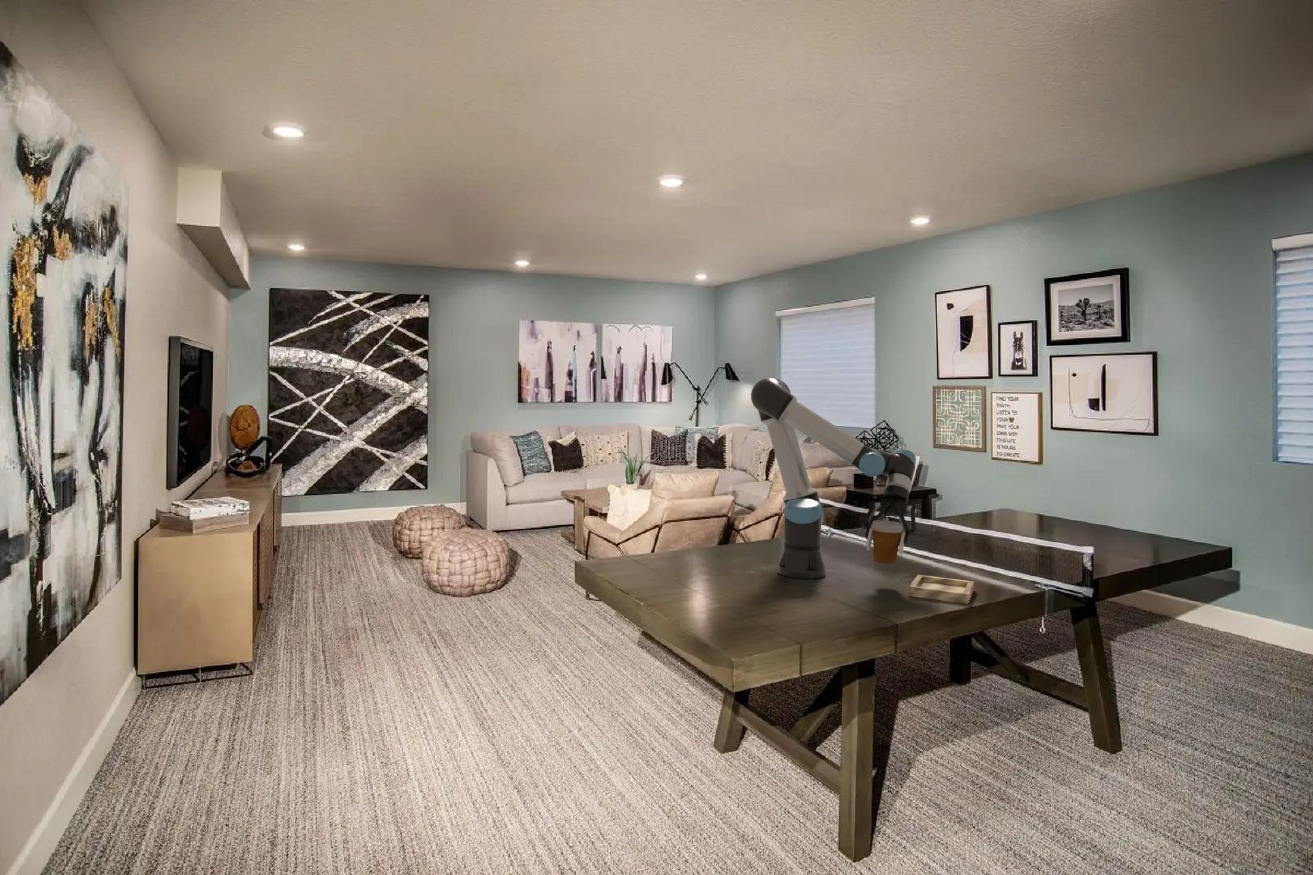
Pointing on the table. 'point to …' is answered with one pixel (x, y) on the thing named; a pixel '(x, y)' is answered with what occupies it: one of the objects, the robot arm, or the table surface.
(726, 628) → the table surface
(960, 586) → the tray
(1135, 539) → the table surface
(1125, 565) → the table surface
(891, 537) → the disposable coffee cup
